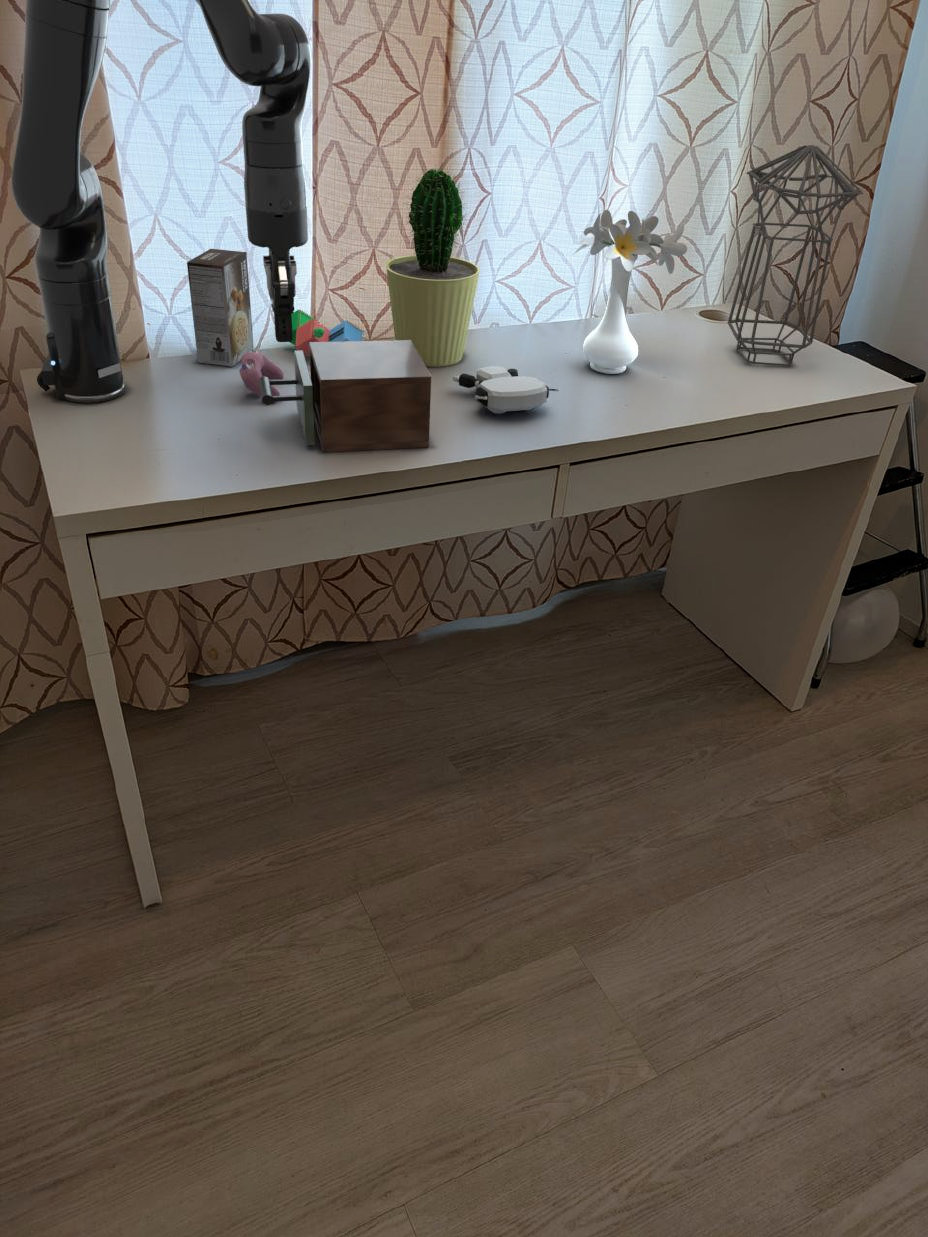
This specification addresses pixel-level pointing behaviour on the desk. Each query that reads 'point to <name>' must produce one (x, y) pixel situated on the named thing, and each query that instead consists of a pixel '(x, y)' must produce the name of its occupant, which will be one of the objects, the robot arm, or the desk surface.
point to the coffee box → (221, 306)
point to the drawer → (297, 395)
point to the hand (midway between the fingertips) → (284, 340)
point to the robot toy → (505, 389)
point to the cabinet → (371, 395)
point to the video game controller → (259, 372)
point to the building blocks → (320, 332)
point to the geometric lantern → (847, 192)
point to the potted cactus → (433, 275)
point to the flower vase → (623, 283)
